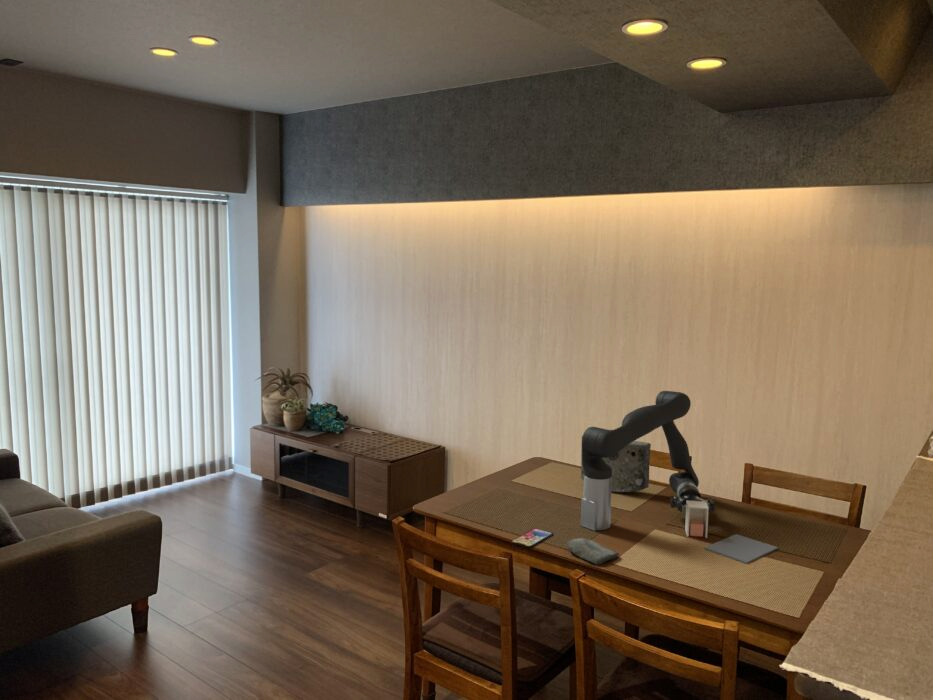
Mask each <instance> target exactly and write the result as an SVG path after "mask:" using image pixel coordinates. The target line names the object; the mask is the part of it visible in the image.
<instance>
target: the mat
mask: <svg viewBox="0 0 933 700" xmlns="http://www.w3.org/2000/svg"><path fill="white" fill-rule="evenodd" d="M778 549H779V547H778V546H775V545H771V544H769V543H765V542H763V541H759V540H756V539H754V538H753V539H752V538H750V537H746V536H744V535H740V534H737V533H735V534H733V535H731V536H728V537H726V538H723V539H722V540H719V541H717V542H714V543H712V544H709V545H708V546H705V547H704V550H706V551H709V552H712V553H715V554H718V555H720V556H722V557H727V558H729V559H732V560H735V561H738V562H741V563H743V564H747V565H748V564H749V563H751V562H753V561H756V560H758V559H759V558H762V557H764V556H766V555H767V554H770V553H772V552H774V551H776V550H778Z"/></svg>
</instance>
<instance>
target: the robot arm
mask: <svg viewBox="0 0 933 700" xmlns="http://www.w3.org/2000/svg"><path fill="white" fill-rule="evenodd" d="M691 403H692V402H691V399H690V397H689V396H688V395H687V394H686V393H684V392H680V391H673V390H662V391H661V390H660V391H659V392H658V394H657V396H656V397H655V404H650V405H645V406H641V407H639V408H636V409H634V410H632V411H630V412H628V413H627V414H626V415H625V416H624V418H622V422H621V426H619V427H617V428H614V429H606V428H601V427H596V426H589V427H587V428H586V429H585V431H584V432H583V435H582V436H583V437H582V436H581V449H582V452H581V453H582V466H583V469H584V481H583V494H582V495H583V496H582V497H581V499H580V526H581V527H584V528H586V529H589V530H591V531H595V532H596V531H605V530H608V529H609V528H611V517H612V516H611V514H612V468H611V467H610V466H609V465H608V464H606V463H605V462H604V460H603V459H602V457H603V458H609V457H611V456H613V455H615V454H616V453H618V452H619V451H620V450H622V449H623V448H624V447H625V446H627V445H628V444H630V443H632V442H633V441H638V440H639V439H640V438H642V437H645V436H646V435H648V434H650V433H651V432H653V431H654V430H656V429H659V428H660V427H662V428H661V429H662V431H663V433H664V436H665V438H666V442H667V446H668V453H669V458H670V459H669V460H670V465H671V467H672V468H673V469H675V470H681V472H679V471H678V472H675V473H672V474H671V475H670V476H669V479H668V484H669V486H670V488H671V490H672V491H673V492H674V493H675V494H677V497H675V496H674V495H670V502H669V503H670V508H672V509H675V508H676V510H677V511H678V512H679V513H682V512H683V510H684V509H686V500H688V501H703V502H706V503H707V505H708V508H709V511H708V515H709V514H711V511H712V512H713V511H715V505H716V504H715V501H714V500H713V498H710V497H708V498H707V499H704V498H702V495H701V492H700V491H699V488H698V487H699V485H700V481H699V477H698V475H697V473H696V472H695V470H694V468H693V465H692V462H691V456H690V451H689V446H688V443H687V441H686V439H685V437H684V436H683V434H681V432H680V430H679V429H678V427H677V426H676V424H675V420H678V419H681V418H683V417H684V416H686V415H687V414H688V413H689V410H690V409H691ZM682 470H683V471H682Z"/></svg>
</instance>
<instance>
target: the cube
mask: <svg viewBox="0 0 933 700" xmlns="http://www.w3.org/2000/svg"><path fill="white" fill-rule="evenodd" d="M703 528H704V524H703V522H702V521H700V520H689V536H691V537H704V532H703Z"/></svg>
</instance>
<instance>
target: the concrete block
mask: <svg viewBox="0 0 933 700" xmlns="http://www.w3.org/2000/svg"><path fill="white" fill-rule="evenodd" d="M582 437H583V435H582V436H581V438H582ZM651 445H652V444H651V443H650V442H646V441H641V440H640V441H639V440H635V441H633V442H632V443H630V444H628V445H627V446H625V447H624V448H623V449H622V450H620V451H619V452H618V453H616V454H615V455H613V456H611V457H609V458H603V457H602V459H603V460H604V462H605V463H606V464H608V465H609V466H610V467H611V468H612V491H611V493H613V492H614V493H615V492H616V493H633V492H639V491H643V490H645V489H648V488H649V485H650V462H651V461H650V460H651ZM580 454H581V455H580V457H581V458H580V460H581V461H580V464H581V465H580V467H581V468H580V478H581V480H582V481H583V482H584V469H583V466H582V448H581V453H580Z"/></svg>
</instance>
